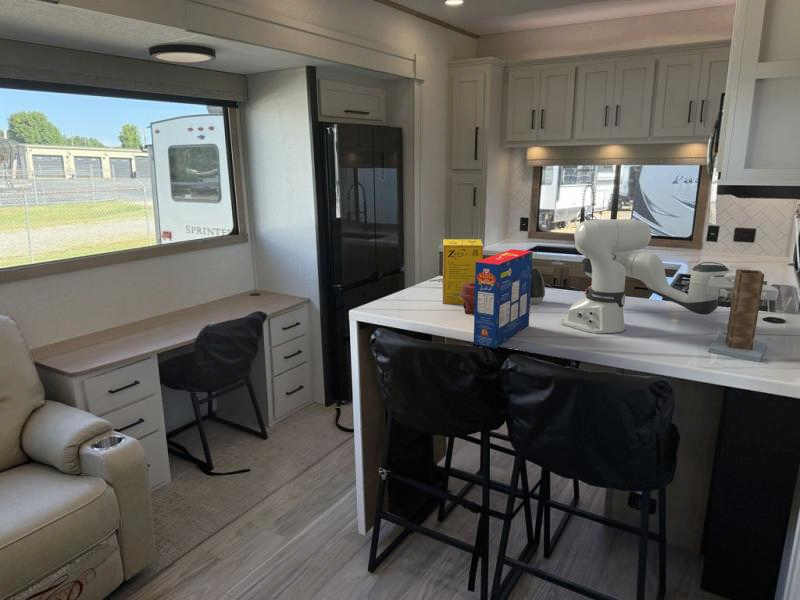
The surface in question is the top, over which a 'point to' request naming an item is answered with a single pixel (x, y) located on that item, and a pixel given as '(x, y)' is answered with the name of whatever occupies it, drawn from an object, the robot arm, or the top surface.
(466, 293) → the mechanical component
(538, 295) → the dark gray domed cylinder
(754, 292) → the walnut sleeve
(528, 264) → the blue food box
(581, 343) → the top surface
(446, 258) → the packaging box
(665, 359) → the top surface
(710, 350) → the base plate
